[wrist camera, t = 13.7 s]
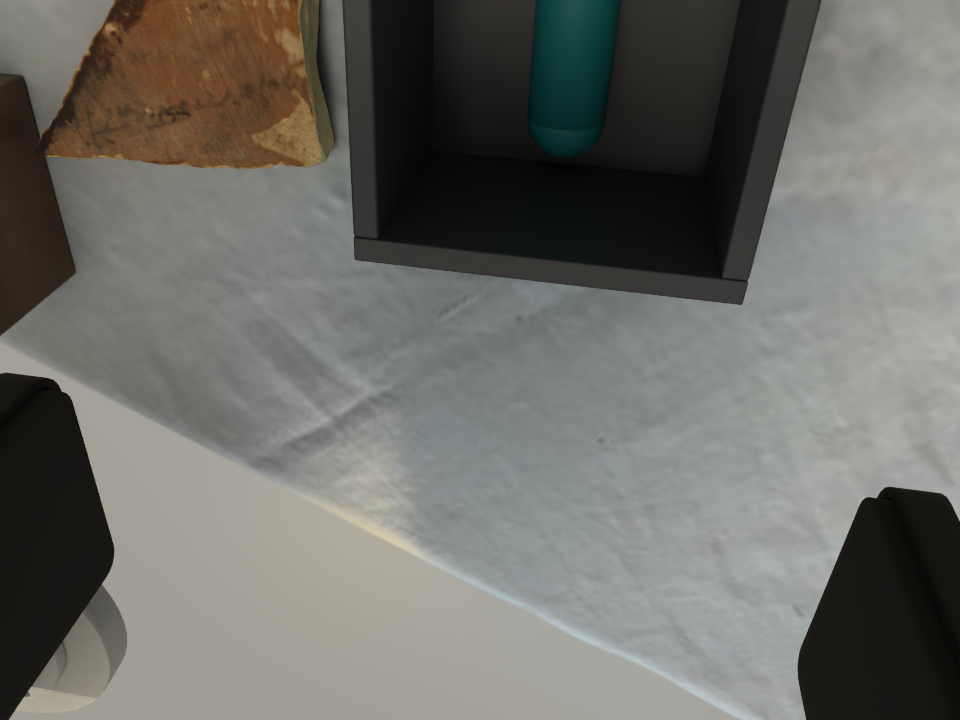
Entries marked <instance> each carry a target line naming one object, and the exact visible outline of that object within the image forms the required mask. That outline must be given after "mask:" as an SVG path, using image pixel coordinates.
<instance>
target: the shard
mask: <svg viewBox="0 0 960 720" xmlns="http://www.w3.org/2000/svg"><path fill="white" fill-rule="evenodd" d="M318 14H319V0H115V1H114V3H113V5H112V7H111V10H110V12H109V14H108V16H107V18H106V20H105V21H104V23H103V24H102V25H101V27H100V29H99V30H98V31H97V33H96V34H95V36H94V38H93V39H92V41H91V43H90V45H89V47H88V50H87V53H86V54H85V55H84V56H83V57H82V60H81V63H80V65H79V67H78V69H77V70H76V72H75V74H74V77H73V78H72V80H71V83H70V85H69V88H68V90H67V92H66V94H65V96H64V99H63V104H62V106H61V108H60V110H59V111H58V114H57V116H56V117H55V119H54V120H53V121H52V124H51V126H50V127H49V128H48V129H46V130H45V131H44V132H43V133H42V135H41V138H40V141H39V143H38V145H37V147H36V149H35V151H34V152H33V155H34V156H35V157H41V156H44V157H65V158H77V159H83V158H84V159H85V158H97V157H105V158H116V159H128V160H135V161H140V160H141V161H143V162H147V163H155V164H161V165H189V166H194V167H200V168H204V167H205V168H220V167H223V166H224V167H231V168H235V169H244V168H270V167H273V166H275V165H286V166H297V167H310V166H313V165H315V164H318V163H320V162H326V160H327V158H328V156H329V153H330V151H331V150H332V149H333V148H334V146H333V145H334V142H335V140H334V135H333V131H332V127H331V122H330V117H329V113H328V109H327V105H326V102H325V98H324V94H323V90H322V87H321V82H320V79H319V73H318V68H317V63H316V50H317V42H318V38H317V32H318V26H319V16H318Z"/></svg>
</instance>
